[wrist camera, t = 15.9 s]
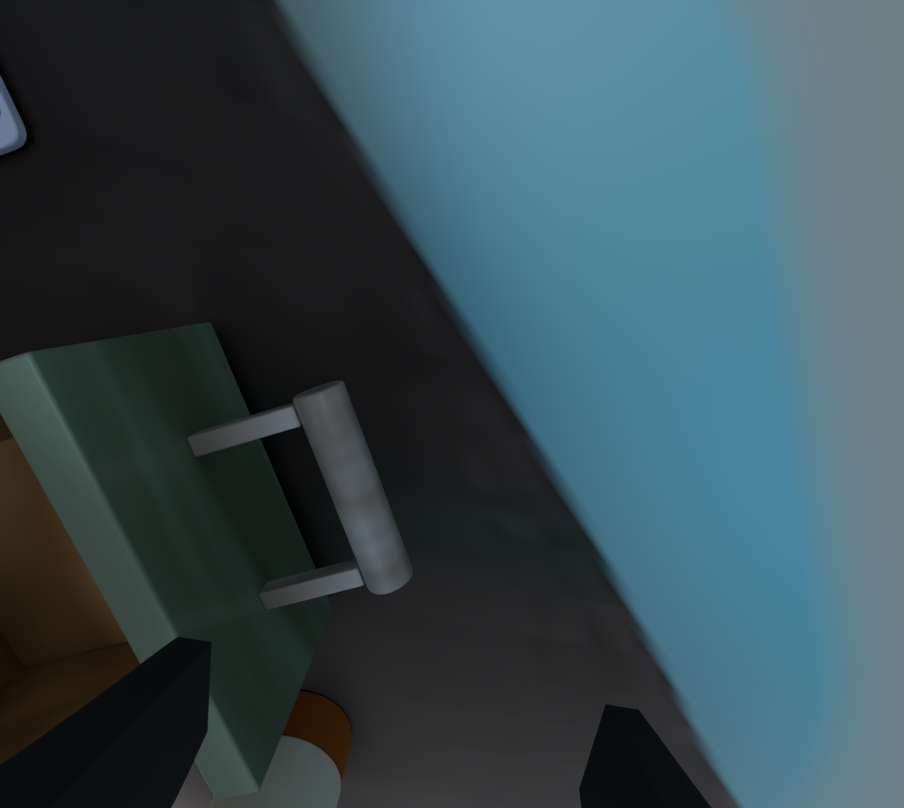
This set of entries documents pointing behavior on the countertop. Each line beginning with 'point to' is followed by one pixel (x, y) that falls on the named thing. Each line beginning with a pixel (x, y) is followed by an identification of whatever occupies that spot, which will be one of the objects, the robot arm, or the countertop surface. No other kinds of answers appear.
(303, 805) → the bottle
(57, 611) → the drawer
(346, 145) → the countertop surface
